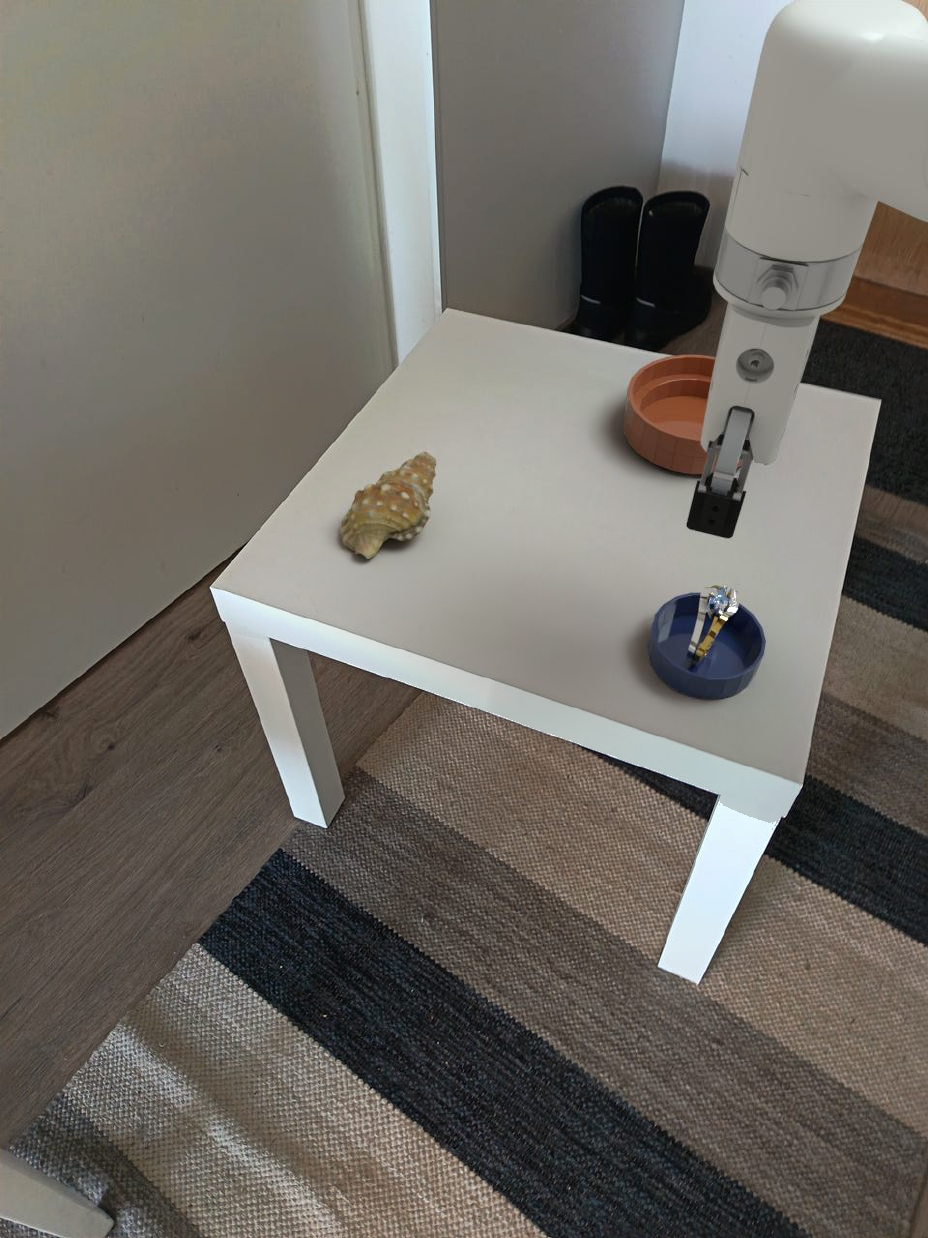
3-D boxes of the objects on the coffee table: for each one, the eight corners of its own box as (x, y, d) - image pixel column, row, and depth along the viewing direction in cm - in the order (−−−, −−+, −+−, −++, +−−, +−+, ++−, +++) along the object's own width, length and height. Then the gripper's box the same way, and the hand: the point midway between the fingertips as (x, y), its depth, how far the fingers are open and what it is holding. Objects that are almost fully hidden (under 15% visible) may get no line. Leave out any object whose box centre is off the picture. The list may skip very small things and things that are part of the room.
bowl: (768, 405, 97) (780, 367, 94) (751, 491, 88) (763, 453, 85) (637, 382, 101) (643, 344, 97) (609, 462, 92) (614, 424, 88)
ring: (700, 689, 73) (719, 630, 67) (666, 671, 74) (682, 611, 68) (736, 637, 76) (758, 576, 70) (704, 620, 78) (722, 559, 71)
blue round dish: (762, 628, 77) (771, 606, 75) (749, 712, 72) (758, 691, 69) (658, 603, 79) (663, 582, 77) (637, 683, 74) (642, 662, 71)
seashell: (363, 520, 92) (389, 432, 87) (431, 551, 90) (460, 463, 86) (323, 544, 83) (349, 449, 79) (397, 578, 82) (428, 483, 78)
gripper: (836, 356, 43) (755, 583, 56) (867, 203, 53) (792, 426, 66) (687, 328, 45) (642, 555, 58) (744, 186, 55) (695, 406, 68)
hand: (722, 486), depth 62 cm, fingers open, 9 cm apart
